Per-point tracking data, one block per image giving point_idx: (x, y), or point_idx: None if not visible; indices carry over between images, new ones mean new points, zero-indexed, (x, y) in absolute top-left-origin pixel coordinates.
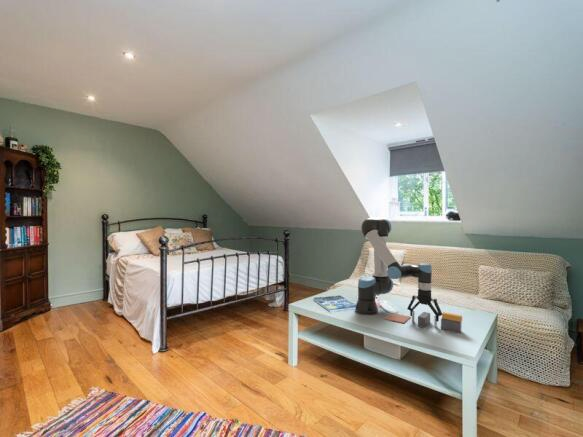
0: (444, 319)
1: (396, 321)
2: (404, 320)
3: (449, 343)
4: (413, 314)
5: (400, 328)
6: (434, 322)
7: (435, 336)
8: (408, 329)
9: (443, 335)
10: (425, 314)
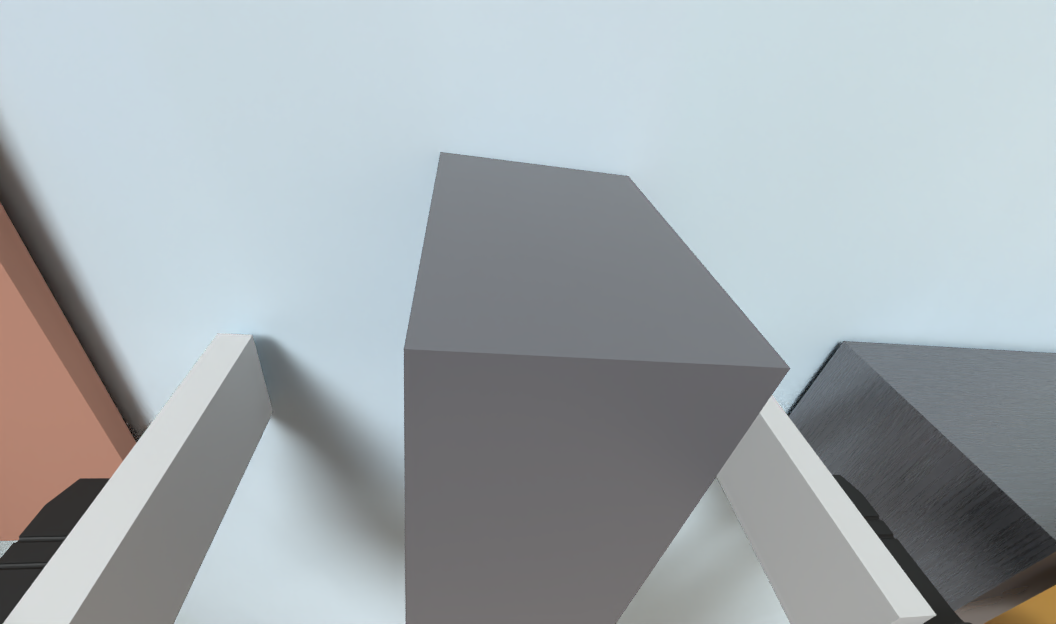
0: (986, 621)
1: (10, 531)
2: (77, 452)
3: (748, 620)
4: (171, 589)
5: (261, 614)
6: (728, 496)
7: (655, 589)
8: (355, 595)
9: (746, 545)
10: (558, 580)
